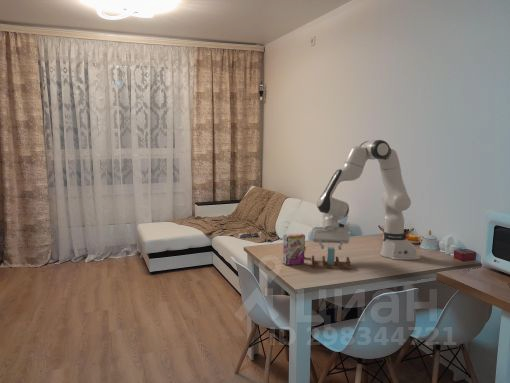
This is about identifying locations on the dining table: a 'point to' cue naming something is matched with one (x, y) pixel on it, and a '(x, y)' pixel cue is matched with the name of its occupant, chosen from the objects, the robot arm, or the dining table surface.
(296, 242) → the candy bar box
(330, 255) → the teal rectangular block
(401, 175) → the robot arm
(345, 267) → the rack
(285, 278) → the dining table surface
